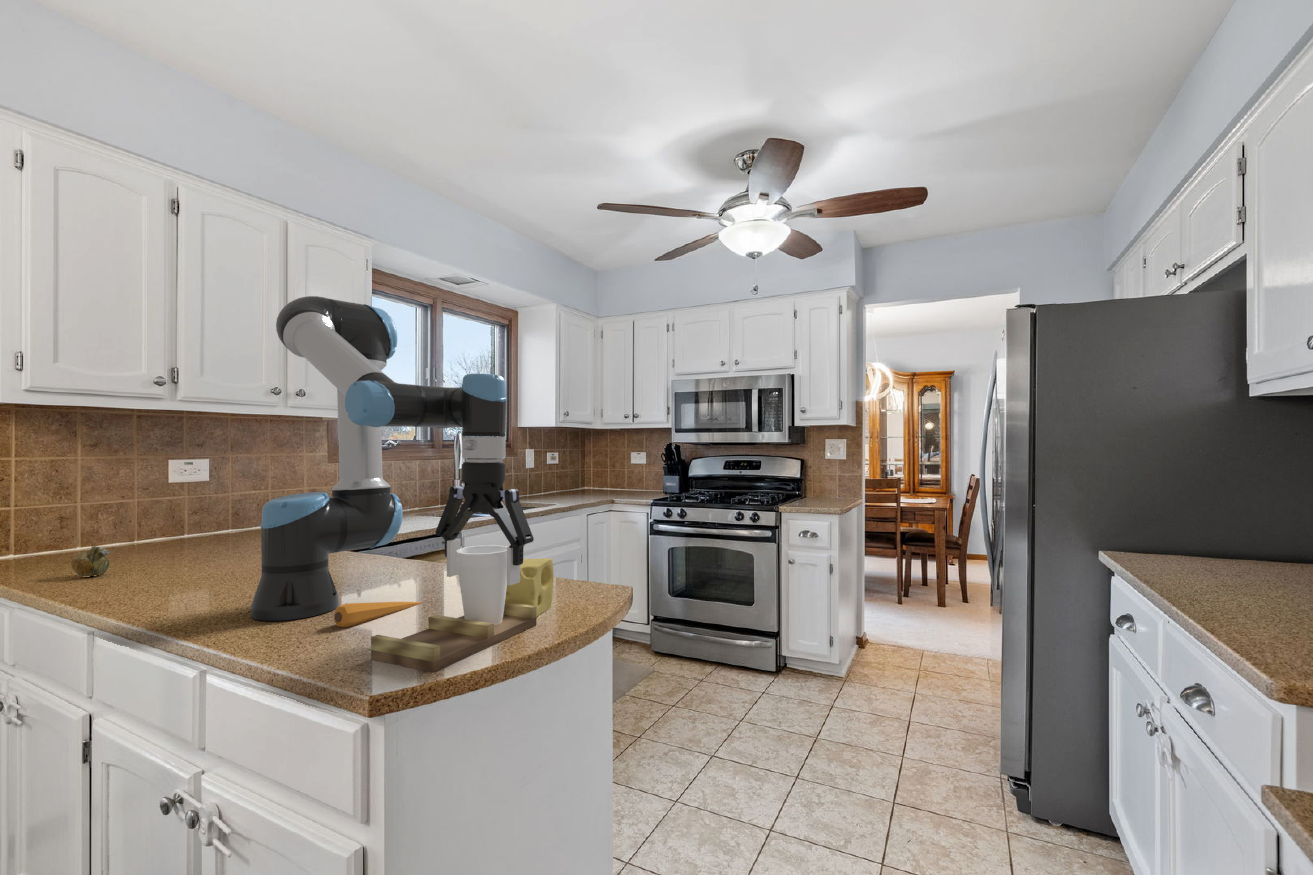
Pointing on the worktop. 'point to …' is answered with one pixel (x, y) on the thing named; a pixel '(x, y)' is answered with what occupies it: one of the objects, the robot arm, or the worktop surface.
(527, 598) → the cheese
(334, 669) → the worktop surface
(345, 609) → the carrot
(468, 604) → the foam cup
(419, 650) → the rack
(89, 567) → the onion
